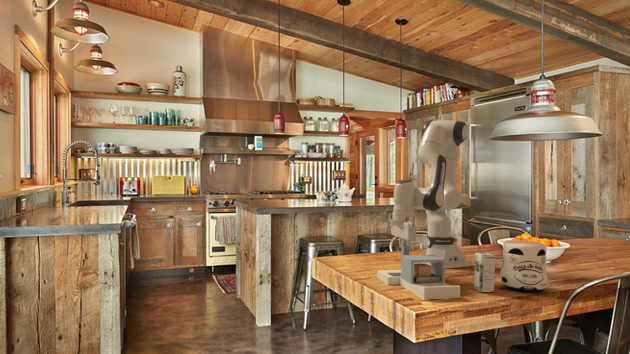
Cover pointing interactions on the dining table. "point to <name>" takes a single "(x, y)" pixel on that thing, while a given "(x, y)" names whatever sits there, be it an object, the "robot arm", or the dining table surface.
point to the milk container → (524, 266)
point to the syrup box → (484, 272)
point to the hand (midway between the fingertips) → (402, 248)
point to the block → (422, 270)
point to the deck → (420, 286)
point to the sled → (420, 279)
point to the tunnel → (409, 261)
